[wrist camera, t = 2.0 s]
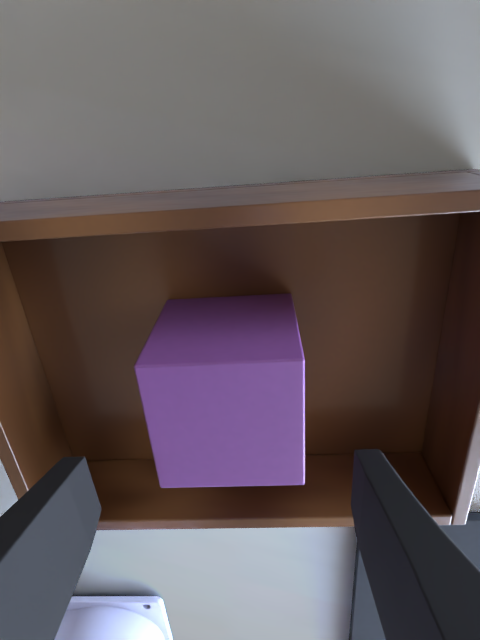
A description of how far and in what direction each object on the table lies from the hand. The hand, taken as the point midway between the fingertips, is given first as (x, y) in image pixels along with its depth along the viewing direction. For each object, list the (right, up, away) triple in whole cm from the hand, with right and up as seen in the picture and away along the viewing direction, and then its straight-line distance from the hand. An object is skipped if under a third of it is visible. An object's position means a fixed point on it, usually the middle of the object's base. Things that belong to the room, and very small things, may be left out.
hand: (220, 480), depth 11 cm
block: (0, +3, +6) cm, 7 cm away
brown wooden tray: (0, +3, +7) cm, 8 cm away
